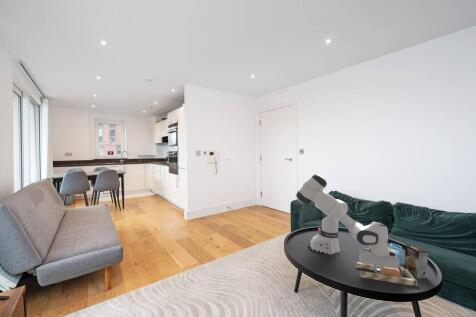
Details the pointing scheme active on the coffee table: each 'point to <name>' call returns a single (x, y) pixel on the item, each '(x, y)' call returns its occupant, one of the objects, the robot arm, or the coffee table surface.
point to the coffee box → (416, 261)
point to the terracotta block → (390, 271)
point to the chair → (397, 252)
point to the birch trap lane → (407, 281)
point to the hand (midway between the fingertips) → (378, 272)
